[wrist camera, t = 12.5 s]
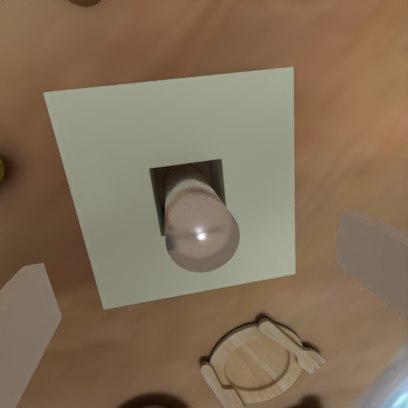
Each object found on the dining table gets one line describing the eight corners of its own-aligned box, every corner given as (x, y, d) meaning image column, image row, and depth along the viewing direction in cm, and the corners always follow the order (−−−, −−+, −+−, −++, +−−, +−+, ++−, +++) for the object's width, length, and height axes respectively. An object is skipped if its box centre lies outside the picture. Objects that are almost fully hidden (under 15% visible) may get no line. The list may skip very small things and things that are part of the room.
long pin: (168, 204, 28) (171, 278, 14) (162, 167, 26) (159, 209, 13) (205, 198, 28) (242, 265, 15) (201, 161, 27) (236, 197, 13)
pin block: (115, 273, 29) (103, 309, 23) (72, 100, 23) (43, 92, 18) (271, 246, 31) (295, 273, 25) (264, 79, 25) (293, 66, 20)
